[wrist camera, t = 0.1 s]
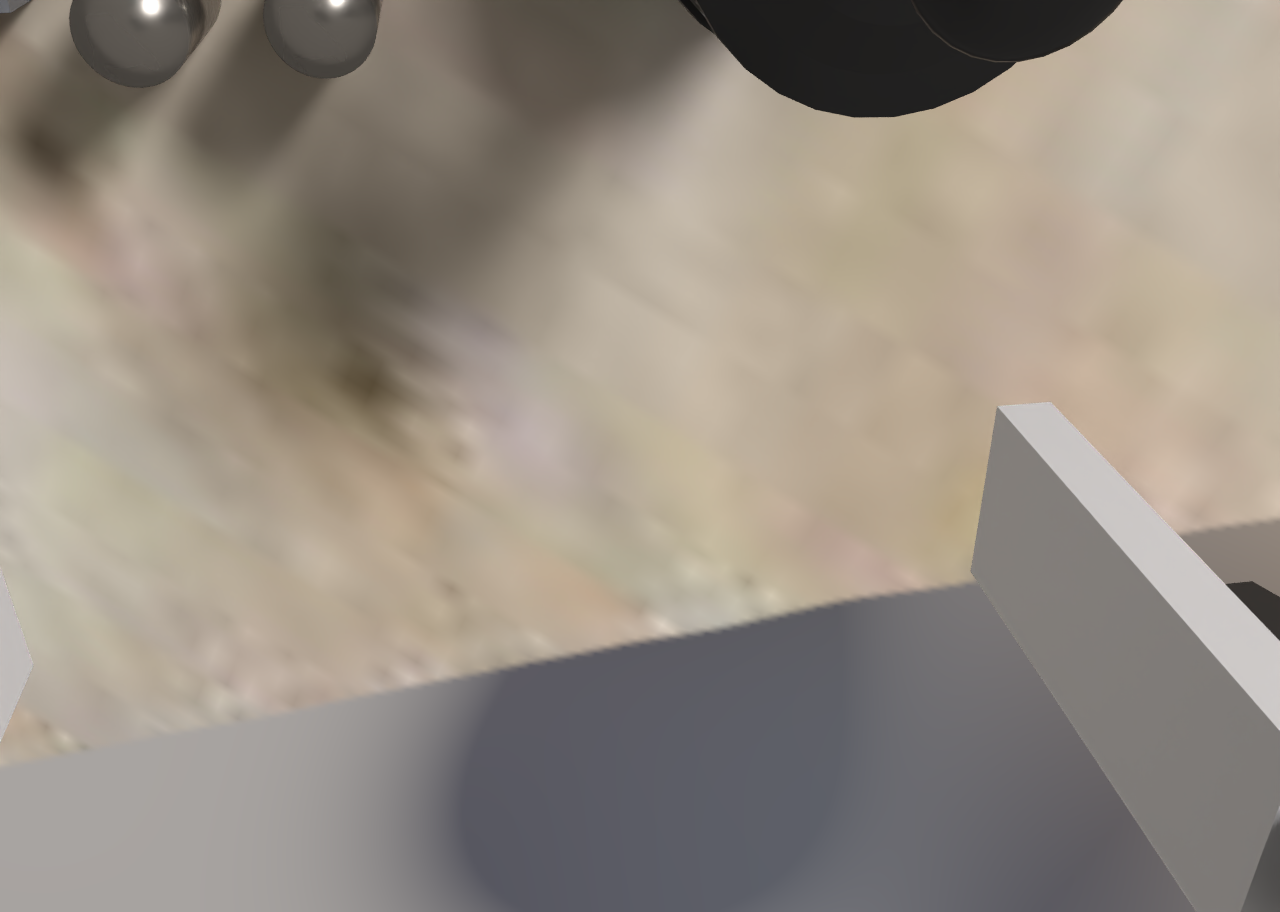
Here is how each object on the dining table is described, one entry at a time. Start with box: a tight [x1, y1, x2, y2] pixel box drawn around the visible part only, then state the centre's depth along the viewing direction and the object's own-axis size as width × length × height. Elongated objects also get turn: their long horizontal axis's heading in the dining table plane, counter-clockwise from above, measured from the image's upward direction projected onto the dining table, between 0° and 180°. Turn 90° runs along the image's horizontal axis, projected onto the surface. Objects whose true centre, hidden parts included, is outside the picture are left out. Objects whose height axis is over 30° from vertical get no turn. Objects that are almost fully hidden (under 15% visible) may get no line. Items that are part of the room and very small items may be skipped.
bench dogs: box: [69, 0, 382, 88], centre depth 35 cm, size 3×8×6 cm, turn 91°
